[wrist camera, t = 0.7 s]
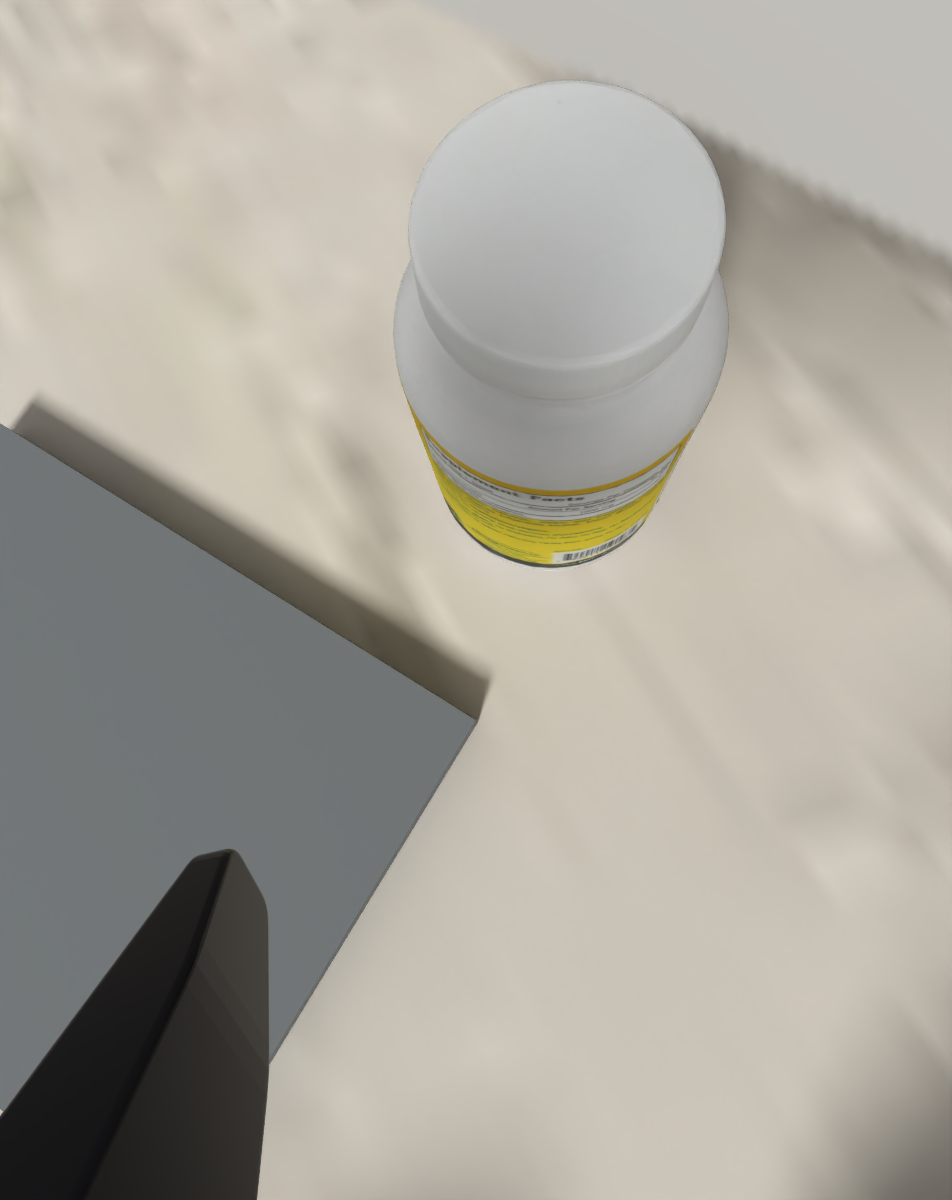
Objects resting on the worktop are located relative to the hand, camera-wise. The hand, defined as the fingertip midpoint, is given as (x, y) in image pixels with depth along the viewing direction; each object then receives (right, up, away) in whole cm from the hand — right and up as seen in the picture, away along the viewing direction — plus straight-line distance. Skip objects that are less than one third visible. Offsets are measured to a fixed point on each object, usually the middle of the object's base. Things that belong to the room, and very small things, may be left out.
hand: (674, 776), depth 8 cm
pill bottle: (0, +5, +15) cm, 16 cm away
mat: (-12, -3, +14) cm, 19 cm away
